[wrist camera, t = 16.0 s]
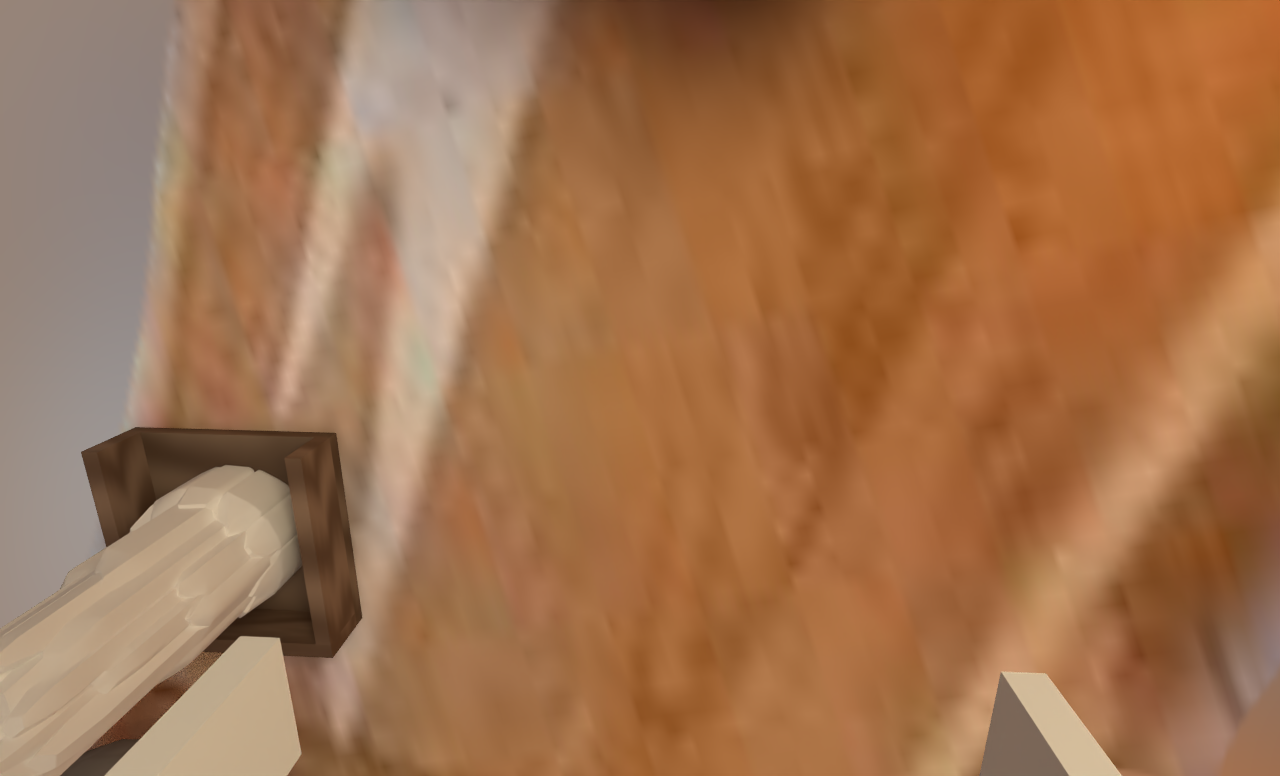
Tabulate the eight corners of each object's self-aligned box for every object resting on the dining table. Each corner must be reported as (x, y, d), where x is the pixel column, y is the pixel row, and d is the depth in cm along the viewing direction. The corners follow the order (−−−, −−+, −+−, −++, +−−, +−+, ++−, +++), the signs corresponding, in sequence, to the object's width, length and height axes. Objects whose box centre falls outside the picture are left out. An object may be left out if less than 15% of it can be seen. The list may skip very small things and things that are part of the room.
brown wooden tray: (135, 427, 52) (81, 451, 48) (336, 433, 51) (300, 458, 47) (179, 609, 57) (133, 648, 53) (362, 617, 56) (332, 657, 52)
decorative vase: (167, 465, 52) (-267, 704, 28) (296, 462, 51) (-37, 705, 27) (201, 584, 55) (-164, 888, 31) (323, 583, 54) (45, 894, 31)
